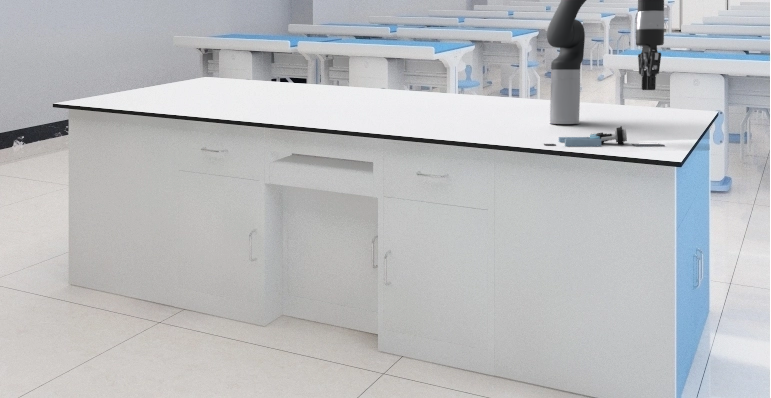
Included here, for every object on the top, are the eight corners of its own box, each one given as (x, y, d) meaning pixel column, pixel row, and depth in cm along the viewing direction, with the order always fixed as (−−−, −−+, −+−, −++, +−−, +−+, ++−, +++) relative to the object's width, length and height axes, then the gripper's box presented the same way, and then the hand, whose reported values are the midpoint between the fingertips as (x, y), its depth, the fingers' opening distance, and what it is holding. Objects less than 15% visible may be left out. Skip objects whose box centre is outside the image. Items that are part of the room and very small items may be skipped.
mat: (628, 144, 267) (628, 143, 267) (655, 144, 267) (655, 142, 267) (636, 146, 259) (636, 144, 259) (664, 146, 259) (664, 144, 259)
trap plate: (542, 144, 268) (542, 143, 268) (552, 144, 268) (552, 143, 268) (545, 145, 263) (545, 144, 263) (556, 145, 263) (556, 144, 263)
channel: (558, 144, 270) (558, 137, 269) (592, 143, 270) (592, 137, 270) (565, 146, 260) (565, 139, 260) (601, 146, 260) (601, 139, 260)
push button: (591, 151, 263) (627, 147, 261) (589, 133, 261) (626, 129, 259) (591, 146, 269) (626, 142, 267) (589, 128, 268) (624, 124, 265)
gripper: (671, 26, 252) (669, 90, 254) (655, 29, 266) (653, 89, 268) (644, 26, 252) (642, 90, 254) (629, 29, 266) (627, 89, 268)
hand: (648, 89), depth 261 cm, fingers open, 4 cm apart
